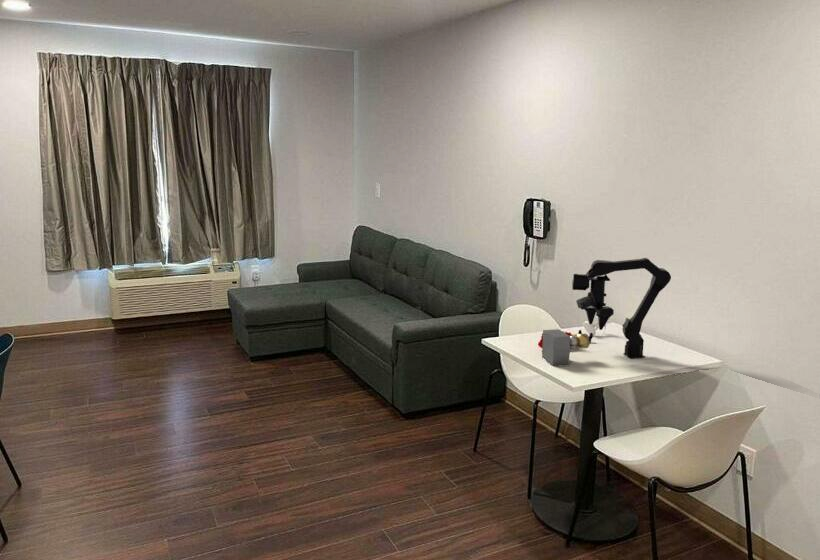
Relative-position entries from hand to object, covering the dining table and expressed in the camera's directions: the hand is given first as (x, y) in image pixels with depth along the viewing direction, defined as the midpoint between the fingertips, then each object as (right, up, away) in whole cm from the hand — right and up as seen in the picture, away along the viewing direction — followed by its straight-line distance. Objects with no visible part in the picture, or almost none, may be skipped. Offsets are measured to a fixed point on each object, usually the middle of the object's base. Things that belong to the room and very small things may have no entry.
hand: (595, 326), depth 269 cm
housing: (-19, -14, -7) cm, 24 cm away
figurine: (-10, -10, +14) cm, 20 cm away
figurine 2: (+9, -6, +32) cm, 34 cm away
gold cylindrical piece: (-10, -8, -6) cm, 14 cm away
